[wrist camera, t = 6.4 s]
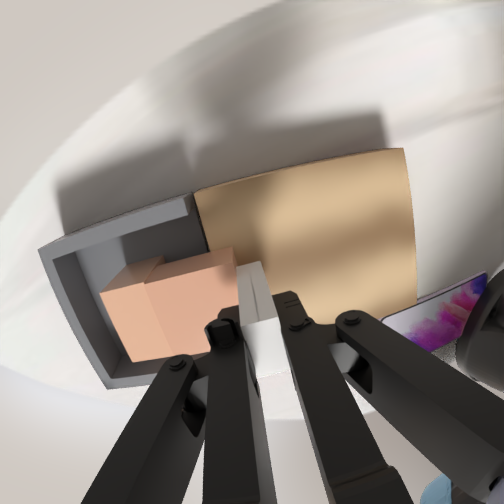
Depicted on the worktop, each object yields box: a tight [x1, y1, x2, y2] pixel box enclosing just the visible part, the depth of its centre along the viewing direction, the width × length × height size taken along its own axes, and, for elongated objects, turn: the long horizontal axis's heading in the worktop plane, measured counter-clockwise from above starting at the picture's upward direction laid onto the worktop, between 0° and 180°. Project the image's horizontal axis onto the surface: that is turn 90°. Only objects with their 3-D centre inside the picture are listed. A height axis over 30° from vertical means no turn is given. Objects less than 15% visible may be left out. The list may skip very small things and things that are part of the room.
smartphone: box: [377, 270, 488, 353], centre depth 25 cm, size 7×1×15 cm
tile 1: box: [99, 255, 174, 362], centre depth 18 cm, size 5×5×3 cm
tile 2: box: [143, 246, 239, 356], centre depth 17 cm, size 5×5×3 cm
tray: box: [38, 192, 210, 389], centre depth 19 cm, size 12×11×4 cm
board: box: [194, 148, 417, 324], centre depth 20 cm, size 12×14×3 cm
